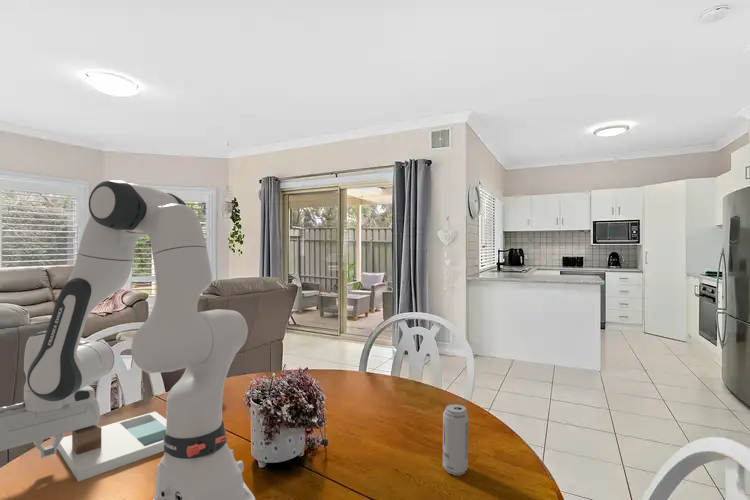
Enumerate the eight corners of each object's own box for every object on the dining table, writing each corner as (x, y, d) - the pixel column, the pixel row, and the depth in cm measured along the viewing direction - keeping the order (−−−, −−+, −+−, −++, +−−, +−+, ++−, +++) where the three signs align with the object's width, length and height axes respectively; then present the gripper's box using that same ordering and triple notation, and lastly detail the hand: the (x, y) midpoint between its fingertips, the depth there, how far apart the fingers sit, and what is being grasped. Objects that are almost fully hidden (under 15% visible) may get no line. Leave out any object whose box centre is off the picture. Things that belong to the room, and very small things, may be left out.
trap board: (186, 443, 108) (186, 433, 108) (78, 481, 90) (78, 470, 90) (155, 419, 122) (155, 411, 122) (57, 448, 104) (57, 439, 104)
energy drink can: (441, 462, 99) (442, 402, 99) (466, 463, 98) (466, 403, 98) (443, 475, 93) (443, 412, 93) (469, 477, 92) (470, 413, 92)
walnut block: (101, 447, 100) (101, 427, 100) (77, 454, 96) (77, 434, 96) (95, 440, 103) (95, 421, 103) (72, 447, 100) (72, 428, 100)
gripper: (-11, 414, 84) (-12, 479, 84) (102, 389, 100) (102, 443, 100) (-14, 406, 88) (-14, 468, 88) (95, 383, 104) (95, 435, 104)
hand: (48, 455), depth 94 cm, fingers closed
